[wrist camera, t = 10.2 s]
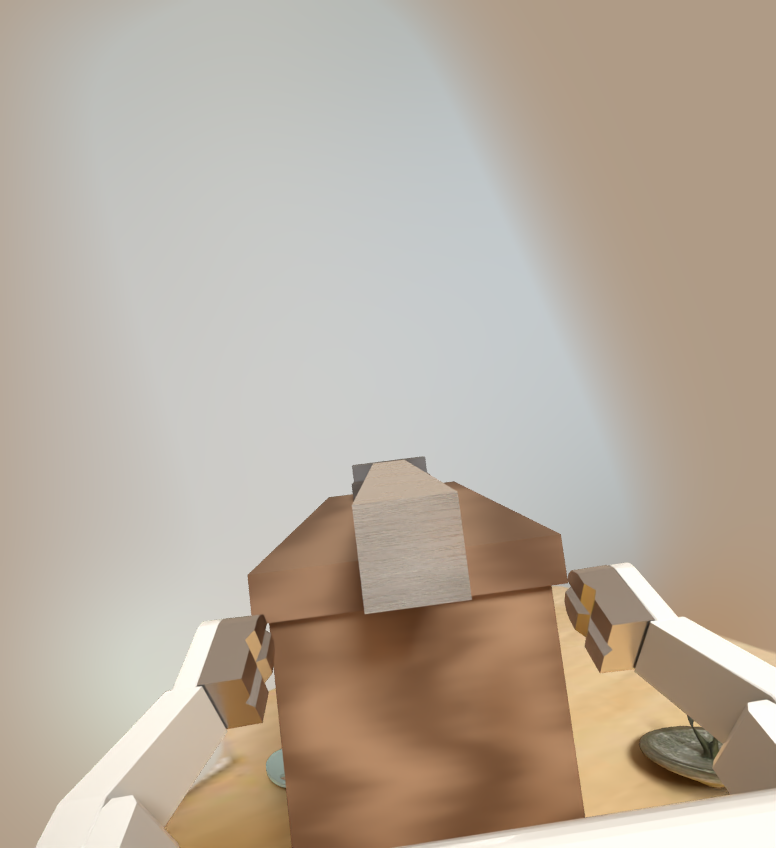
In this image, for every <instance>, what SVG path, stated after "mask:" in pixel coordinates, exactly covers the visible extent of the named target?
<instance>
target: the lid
mask: <svg viewBox="0 0 776 848" xmlns="http://www.w3.org/2000/svg"><path fill="white" fill-rule="evenodd" d="M687 716H688V715H687ZM688 720H689V722H690V725H691V726H692V727H690V726H676V727H668V728H662V729H659V730H654V731H651V732H648V733H646V734H645V735H643V736H642V737H641V739H640V743H639V746H640V749H641V750H642V752H643V753H644V754H645V755H646V756H647V757H648V758H649V759H650V760H652V761H653V762H655V763H657V764H658V765H660V766H662V767H664V768H666V769H667V770H669V771H672V772H674V773H677V774H679V775H682V776H685V777H688V778H690V779H693V780H696V781H699V782H701V783H703V784H705V785H708V786H711V787H725V786H724V785H723V783H722V782H721V780H720V779H719V777H718V776H717V774H716V773H715V771H714V770H713V762H714V759H715V757H716V756H717V754H718V752H719V751H720V749H721V747H722V746H723V744H722V743H721V742H720V741H718V740H717V739H716V738H715V737H714V736H712V735H711V734H710V733H709V732H708V731H706V730H705V729H704V728H703V727H693V722H694V720H693V719H692V718H690V717H689V716H688Z"/></svg>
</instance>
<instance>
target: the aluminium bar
mask: <svg viewBox="0 0 776 848" xmlns="http://www.w3.org/2000/svg"><path fill="white" fill-rule="evenodd" d="M352 510H353V518H354V527H355V536H356V544H357V553H358V561H359V570H360V578H361V587H362V596H363V604H364V613H365V614H370V613H377V612H385V611H392V610H400V609H407V608H415V607H422V606H430V605H437V604H444V603H452V602H459V601H467V600H472V596H471V589H470V581H469V574H468V566H467V559H466V551H465V544H464V536H463V529H462V521H461V514H460V506H459V499H458V492H457V491H456V490H454V489H452V488H451V487H449V486H447V485H446V484H444V483H442V482H441V481H439V480H437V479H436V478H434V477H432V476H431V475H429V474H427V473H426V472H424V471H422V470H421V469H419V468H417V467H416V466H414V465H412V464H411V463H409V462H407V461H406V460H398V461H390V462H381V463H373V465H372V467H371V469H370V471H369V472H368V474H367V476H366V478H365V480H364V482H363V484H362V486H361V488H360V490H359V492H358V494H357V496H356V498H355V500H354V502H353V504H352Z"/></svg>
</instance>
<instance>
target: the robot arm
mask: <svg viewBox="0 0 776 848" xmlns="http://www.w3.org/2000/svg"><path fill="white" fill-rule="evenodd" d="M567 581H568V582H569V584H570V585H571V587H570V588H569V589H568V590H567V591H566V592H565V606H566V611H567V614H568V616H569V619H570V621H571V623H572V625H573V627H574V628H575V630H576V631H578V632H579V633H581V634H582V635H583V636H585V637H586V640H585V648H586V650H587V651H588V653H589V655H590V657H591V658H592V660H593V662H594V664H595V665H596V667H597V669H598V670H599V672H600V673H606V672H615V671H624V670H632V669H635V672H636V673H637V674H638V675H639V676H641V677H642V678H643V679H644V680H646V681H647V682H648V683H649V684H650V685H652V686H653V687H654V688H655V689H656V690H658V691H659V692H660V693H661V694H663V695H664V696H665V697H666V698H667V699H669V700H670V701H671V702H672V703H673V704H675V705H676V706H677V707H678V708H680V709H681V710H682V711H683V712H684V713H686V714H687V715H688V716H689V717H690V718H692V719H693V720H694V721H695V722H697V723H698V724H699V725H700V726H701V727H703V728H704V729H705V730H706V731H708V732H709V733H710V734H711V735H712V736H714V737H715V738H716V739H717V740H718V741H720V742H721V743H722V744H723V746H722V747H721V749H720V751H719V752H718V754H717V756H716V757H715V759H714V762H713V770H714V771H715V773H716V774H717V776H718V777H719V779H720V780H721V782H722V783H723V785H724V786H725V788H726V789H727V791H728V792H729V794H730V795H726V796H720V797H713V798H707V799H700V800H694V801H688V802H681V803H675V804H669V805H662V806H656V807H649V808H643V809H637V810H630V811H624V812H618V813H611V814H605V815H598V816H592V817H586V818H579V819H573V820H567V821H560V822H554V823H547V824H541V825H535V826H528V827H522V828H515V829H509V830H503V831H496V832H490V833H484V834H477V835H471V836H464V837H458V838H452V839H445V840H439V841H433V842H426V843H420V844H413V845H407V846H401V847H394V848H776V668H775V667H773V666H772V665H770V664H768V663H766V662H765V661H763V660H761V659H759V658H757V657H756V656H754V655H752V654H750V653H748V652H747V651H745V650H743V649H741V648H739V647H738V646H736V645H734V644H732V643H730V642H729V641H727V640H725V639H723V638H721V637H720V636H718V635H716V634H714V633H713V632H711V631H709V630H707V629H705V628H704V627H701V626H700V625H698V624H696V623H695V622H693V621H691V620H689V619H687V618H686V617H677V616H676V614H675V613H674V612H673V611H672V610H671V609H670V608H669V606H668V605H667V604H666V603H665V602H664V600H663V599H662V598H661V597H660V596H659V595H658V594H657V592H656V591H655V590H654V589H653V588H652V587H651V586H650V584H649V583H648V582H647V581H646V580H645V579H644V578H643V576H642V575H641V574H640V573H639V572H638V571H637V569H636V568H635V567H634V566H633V565H631V564H630V563H620V564H614V565H608V566H607V565H604V566H597V567H590V568H584V569H578V570H572V571H571V572H570V573H569V575H568V580H567ZM266 625H267V621H266V619H265V617H264V615H263V614H262V615H253V616H244V617H235V618H226V619H219V620H211V621H203V622H202V623H201V625H200V626H199V627H198V629H197V631H196V634H195V636H194V638H193V641H192V643H191V646H190V648H189V651H188V653H187V655H186V658H185V660H184V663H183V665H182V668H181V670H180V672H179V675H178V677H177V680H176V682H175V685H174V687H173V689H172V690H170V691H166V692H165V693H164V694H163V695H162V696H161V697H160V698H159V699H158V700H157V701H156V702H155V703H154V704H153V705H152V706H151V707H150V708H149V710H148V711H147V712H146V713H145V714H144V715H143V716H142V717H141V718H140V719H139V720H138V721H137V722H136V723H135V724H134V725H133V726H132V727H131V728H130V729H129V730H128V731H127V732H126V734H124V735H123V737H122V738H121V739H120V740H119V741H118V742H117V743H116V744H115V745H114V746H113V747H112V748H111V749H110V750H109V751H108V752H107V753H106V754H105V755H104V756H103V757H102V758H101V760H100V761H99V762H98V763H97V764H96V765H95V766H94V767H93V768H92V769H91V770H90V771H89V772H88V773H87V774H86V775H85V776H84V777H83V778H82V779H81V780H80V781H79V782H78V783H77V785H76V786H75V787H74V788H73V789H72V790H71V791H70V792H69V793H68V794H67V795H66V796H65V797H64V798H63V800H61V801H60V802H59V803H58V805H57V807H56V809H55V811H54V812H53V814H52V816H51V818H50V820H49V822H48V824H47V826H46V828H45V829H44V831H43V833H42V835H41V837H40V839H39V841H38V843H37V845H36V847H35V848H180V847H179V844H178V843H177V842H176V840H175V839H174V838H173V837H172V836H171V835H170V834H169V833H168V832H167V831H166V830H165V829H164V827H165V825H166V824H167V822H168V821H169V819H170V818H171V816H172V815H173V813H174V812H175V810H176V809H177V807H178V806H179V804H180V803H181V801H182V800H183V798H184V797H185V795H186V794H187V792H188V791H189V789H190V788H191V786H192V785H193V783H194V781H195V780H196V778H197V777H198V775H199V774H200V772H201V771H202V769H203V768H204V766H205V765H206V763H207V762H208V760H209V759H210V757H211V756H212V754H213V753H214V751H215V750H216V748H217V747H218V745H219V744H220V742H221V741H222V739H223V738H224V736H225V735H226V733H227V729H231V728H236V727H242V726H247V725H253V724H259V723H263V718H264V713H265V708H266V703H267V698H268V693H269V692H268V690H267V688H266V685H265V682H266V681H267V679H268V678H269V677H270V676H271V674H272V672H273V666H274V657H275V647H274V640H273V637H272V634H271V633H269V632H268V631H266V630H265V629H266Z"/></svg>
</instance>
